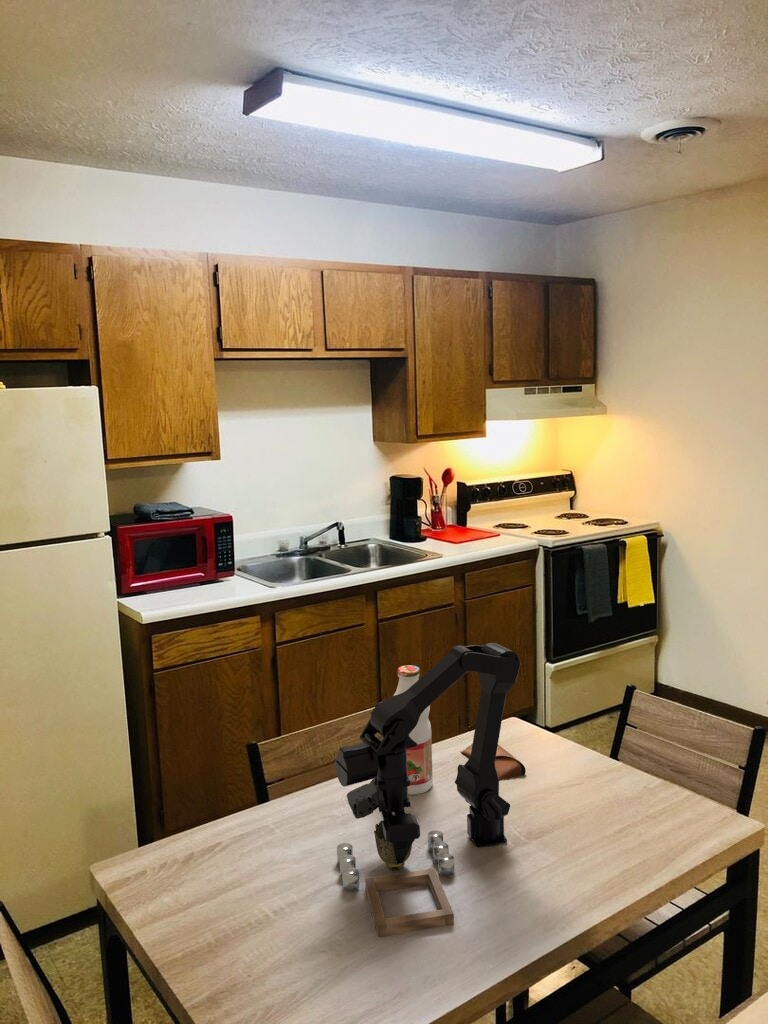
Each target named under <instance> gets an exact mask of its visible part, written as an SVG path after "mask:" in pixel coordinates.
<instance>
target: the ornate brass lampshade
mask: <svg viewBox="0 0 768 1024" xmlns="http://www.w3.org/2000/svg"><path fill="white" fill-rule="evenodd" d="M382 821H383V819H381V820H380V821H379V823H376V824H375V826H374V827H375V830H373V834H374V839H375V845H376V850H377V854H378V857H379V858H380V859H381V861H382V862H384V864H385V867H386V869H387V870H389V871H390V872H400V871H402V870H403V869H404V867H405V863H406V861H407V860H408V859H409V857H411V853H412V849H413V844H412V845H411V847H410V849H409V851H408V853H407V855H406V857H405V859H404V862H403V863H400V864H397V862H396V857H395V853H394V849H393V845H392V843H391V842H387V841H386V839H385V837H384V834H383V825H382Z"/></svg>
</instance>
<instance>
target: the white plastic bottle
mask: <svg viewBox="0 0 768 1024" xmlns="http://www.w3.org/2000/svg"><path fill="white" fill-rule="evenodd" d="M420 674H421V673H420V667H418V666H417V665H412V664H411V665H410V664H409V665H408V664H407V665H402V666H401V665H400V667H398V669H397V677H398V684H397V687H396V691H395V692H394V694H393V696H395V695H398V694H401V693H403V692H405V691H406V690H408V689H409V688H410V687H411V686H412V685H413V684H414V683H416V682H417V681H418V680H419V679H420V678H419V677H420ZM430 710H431V704H430V705H429V706H428V707H427V708H426V709H425V710H424V711H423V712H422V714H421V715H420V718H419V720H418V723H417V725H416V727H415V728H414V729H413V730H412V732H411V733H410V734H409V737H410V738H411V739H413V740H414V741H415V742H416V743H417V746H416V747H412V748H408V749H406V751H407V776H408V778H409V780H410V786H408V796H410V795H411V796H412V795H414V796H415V795H420V794H424V793H426V792H428V791H429V790H430V789H431V788H432V785H433V782H434V780H433V779H434V778H433V750H432V749H433V745H432V743H433V742H432V741H433V740H432V726H431V721H430V719H429V715H430V712H431V711H430Z"/></svg>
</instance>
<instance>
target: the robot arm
mask: <svg viewBox="0 0 768 1024" xmlns="http://www.w3.org/2000/svg"><path fill="white" fill-rule="evenodd" d="M520 669H521V658H520V657H519V655H518V654H517V653H516V652H514V651H513V650H510V649H509V648H507V647H505V646H502V645H501V644H498V643H496V642H489V643H486V644H484V645H479V644H478V645H477V644H470V645H455V646H453V647H451V648H450V649H449V652H448V653H447V654H446V655H445V656H444V657H443V658H441V659H440V660H439V661H438V662H437V663H436V664H435V665H434V666H433V667H431V668H430V669H429V670H428V671H427V672H426V673H424V674H423V676H421V677H420V678H418V679H419V680H418V681H417V682H416V683H414V684H413V685H412V686H411V687H410V688H409V689H408V690H406V691H405V692H403V693H401V694H398V695H395V696H394V695H392V696H389V697H387V699H385V700H383V701H381V702H380V703H378V704H377V705H376V706H375V707H374V708H373V709H371V712H370V719H369V720H368V722H367V724H366V725H365V727H364V729H363V730H362V731H361V733H360V736H359V740H360V741H361V742H362V743H358V744H353V745H349V746H348V745H346V746H341V747H339V748H338V749H339V752H338V754H337V755H336V756H335V760H334V765H335V766H334V768H335V773H336V776H337V778H338V781H339V784H340V785H341V786H343V787H349V786H352V785H353V786H354V785H356V784H359V783H363V782H367V781H370V782H369V783H365V784H363V785H360V786H359V787H357V788H354V789H352V790H350V791H349V792H347V793H346V799H347V802H348V805H349V807H350V810H351V812H352V814H353V816H354V818H355V819H364V818H365V817H367V816H369V815H371V814H373V813H374V811H376V810H377V809H378V813H380V814H381V816H382V820H383V821H382V825H383V834H384V837H385V839H386V841H387V842H391V843H392V845H393V849H394V853H395V857H396V862H397V864H400V863H403V862H404V859H405V857H406V855H407V853H408V851H409V849H410V847H411V845H412V846H413V844H414V841H415V840H416V839H419V838H420V837H421V826H420V824H419V822H418V819H417V817H416V816H415V815H414V814H413V813H412V812H409V813H407V812H406V810H405V808H411V807H412V805H411V804H412V803H411V800H410V798H409V794H408V786H410V780H409V778H408V776H407V751H406V749H408V748H412V747H416V746H417V743H416V742H415V741H414V740H413V739H411V738H410V737H409V734H410V733H411V732H412V730H413V729H414V728H415V727H416V725H417V723H418V720H419V718H420V715H421V714H422V712H423V711H424V710H425V709H426V708H427V707H428V706H429V705H430V706H431V705H432V704H433V703H434V702H435V701H436V700H437V699H438V698H440V696H441V695H443V694H444V693H445V692H446V691H447V690H449V688H451V687H452V686H453V685H454V684H455V683H456V682H458V680H459V679H461V678H462V677H463V676H464V675H465V674H466V673H468V672H477V675H478V680H479V682H480V688H481V689H480V697H479V701H478V702H479V703H478V708H477V714H476V720H475V721H476V722H475V726H474V733H473V739H472V743H471V744H472V750H471V756H470V759H469V758H468V760H467V761H466V762H465V763H464V764H457V765H458V766H457V775H456V779H455V780H454V784H455V785H456V791H457V793H458V794H459V795H460V796H461V797H462V798H463V799H464V800H465V801H464V802H466V803H467V804H469V813H468V814H466V825H467V827H466V828H467V829H466V833H467V834H468V836H469V838H470V840H472V842H473V845H474V847H477V848H480V847H482V848H483V847H487V846H488V847H489V846H495V845H500V844H501V845H503V844H507V842H508V839H507V837H506V836H505V819H504V817H506V816H507V815H509V813H510V812H509V811H510V808H511V804H510V802H508V801H506V800H505V799H504V798H502V797H501V796H500V781H499V779H498V775H497V771H496V767H495V759H496V753H497V747H498V745H499V740H500V734H501V729H502V728H501V727H502V721H503V715H504V709H505V704H506V698H507V693H508V692H509V691H510V690H511V688H512V687H513V686H514V685H515V684H516V682H517V678H518V676H519V671H520ZM376 734H378V735H380V736H381V738H383V739H382V740H380V739H379V738H378V737H377V736H376Z"/></svg>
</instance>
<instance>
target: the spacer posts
mask: <svg viewBox="0 0 768 1024" xmlns="http://www.w3.org/2000/svg"><path fill="white" fill-rule="evenodd" d="M353 848H354V847H353V845H352V844H351V843H349V842H343V843H340V844H338V845H337V846H336V855H337V856H336V857H337V859H336V860H337V865H339V873H340V874H339V875H340V878H342V889H343V891H344V892H346V893H355V892H357V891H358V890H359V889H360V872H359V869H358V868H357V861H356V857H355V855H354V854H353ZM427 849H428V851H429V852H430V853H432V861H433V863H434V864H435V865H437V866H438V867H437V870H438V871H437V873H438V876H440V877H441V878H445V879H448V878H449V879H450V878H453V876H454V875H455V856H454V855H453V854H451V853H449V852H450V851H449V844H448V843H447V842H445V841H444V833H443V832H442V831H441V830H431V831H429V832H428V833H427Z"/></svg>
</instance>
